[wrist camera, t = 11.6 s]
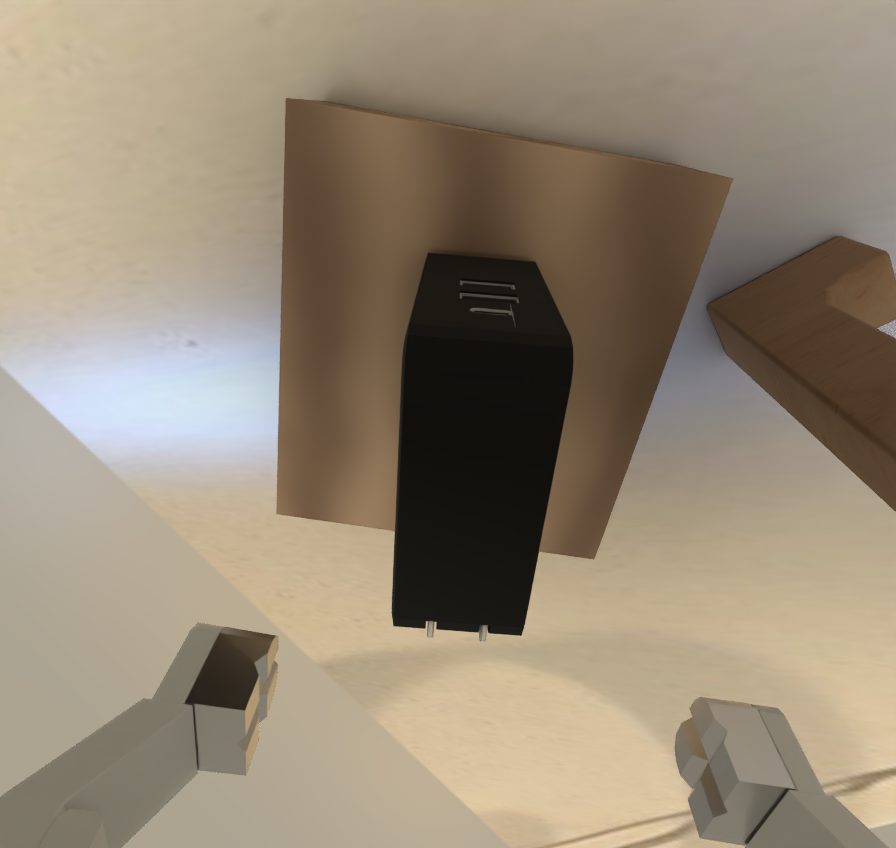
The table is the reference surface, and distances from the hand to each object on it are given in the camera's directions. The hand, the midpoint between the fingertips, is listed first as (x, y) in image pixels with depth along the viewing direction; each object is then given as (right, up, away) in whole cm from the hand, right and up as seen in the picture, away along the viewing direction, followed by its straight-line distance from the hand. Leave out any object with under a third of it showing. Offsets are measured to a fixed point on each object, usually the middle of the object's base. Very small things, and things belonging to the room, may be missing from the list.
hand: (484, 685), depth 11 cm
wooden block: (+16, +11, +18) cm, 26 cm away
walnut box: (0, +10, +19) cm, 21 cm away
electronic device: (0, +7, +14) cm, 15 cm away
